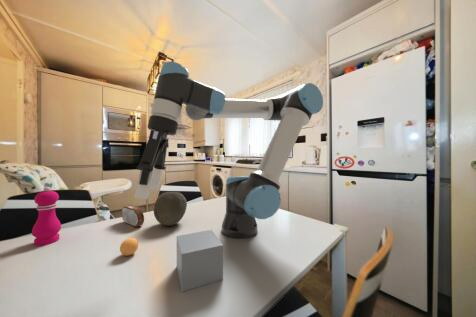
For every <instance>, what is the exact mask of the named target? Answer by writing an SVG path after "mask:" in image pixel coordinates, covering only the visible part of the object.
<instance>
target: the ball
mask: <svg viewBox="0 0 476 317" xmlns="http://www.w3.org/2000/svg"><path fill="white" fill-rule="evenodd" d="M138 249H139V242H138V240H137V239H136V238H133V237H129V238H126V239H124V240H123V241H122V242H121V244H120V246H119V251H120V254H122V255H123V256H126V257H127V256H131V255H133V254H134V253H136V252H137V250H138Z"/></svg>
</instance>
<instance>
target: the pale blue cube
mask: <svg viewBox="0 0 476 317" xmlns="http://www.w3.org/2000/svg"><path fill="white" fill-rule="evenodd" d="M176 270H177V275H178V281H179V286H180V291H181V292H182V293H183V292H186V291H190V290H192V289H196V288H199V287H202V286H204V285H208V284H211V283H215V282H218V281H222V280H223V279H224V244H223V243H222V241H221V240H220V239H219V238H218V236H217V235H216V234H215V232H214V231H213V230H212V229H209V230H203V231H198V232H192V233H187V234H180V235H176Z"/></svg>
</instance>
